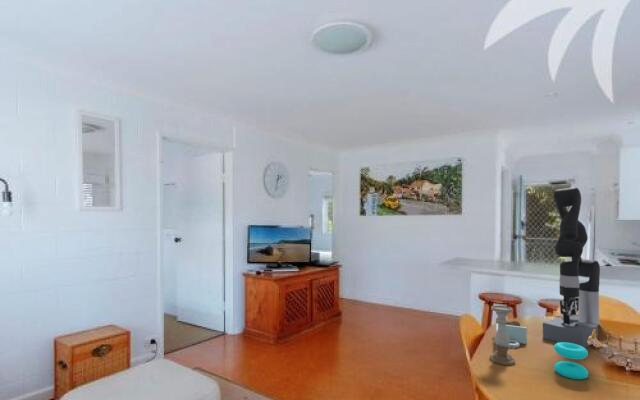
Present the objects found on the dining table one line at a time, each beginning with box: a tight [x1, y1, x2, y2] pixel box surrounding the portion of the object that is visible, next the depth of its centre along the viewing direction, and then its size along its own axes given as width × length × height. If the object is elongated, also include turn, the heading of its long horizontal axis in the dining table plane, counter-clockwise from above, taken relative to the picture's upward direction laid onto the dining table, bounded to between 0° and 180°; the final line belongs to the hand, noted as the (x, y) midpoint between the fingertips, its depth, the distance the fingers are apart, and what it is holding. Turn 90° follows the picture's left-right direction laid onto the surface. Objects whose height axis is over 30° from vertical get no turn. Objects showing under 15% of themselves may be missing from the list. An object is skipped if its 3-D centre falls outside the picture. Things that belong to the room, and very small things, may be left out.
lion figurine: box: [495, 316, 521, 327], centre depth 173 cm, size 15×5×9 cm, turn 110°
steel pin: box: [560, 313, 578, 327], centre depth 167 cm, size 6×6×8 cm
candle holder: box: [489, 305, 516, 366], centre depth 142 cm, size 9×9×20 cm
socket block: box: [542, 316, 599, 349], centre depth 167 cm, size 16×16×7 cm
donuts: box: [553, 342, 589, 380], centre depth 130 cm, size 10×10×10 cm
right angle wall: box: [495, 324, 528, 349], centre depth 159 cm, size 12×12×8 cm
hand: (569, 322), depth 167 cm, fingers closed on steel pin, 6 cm apart
